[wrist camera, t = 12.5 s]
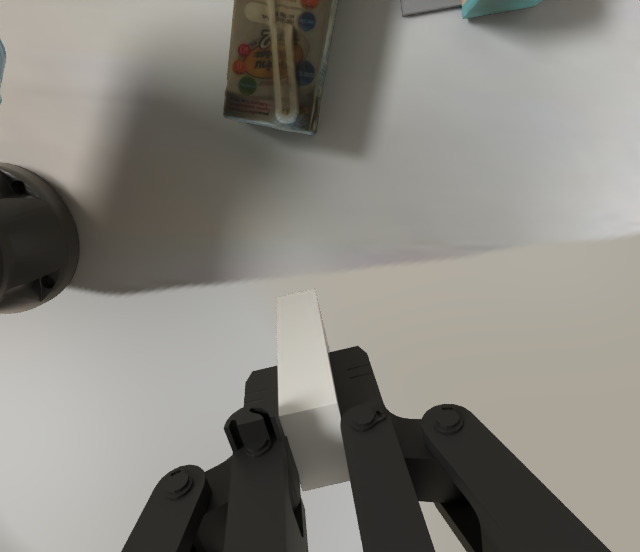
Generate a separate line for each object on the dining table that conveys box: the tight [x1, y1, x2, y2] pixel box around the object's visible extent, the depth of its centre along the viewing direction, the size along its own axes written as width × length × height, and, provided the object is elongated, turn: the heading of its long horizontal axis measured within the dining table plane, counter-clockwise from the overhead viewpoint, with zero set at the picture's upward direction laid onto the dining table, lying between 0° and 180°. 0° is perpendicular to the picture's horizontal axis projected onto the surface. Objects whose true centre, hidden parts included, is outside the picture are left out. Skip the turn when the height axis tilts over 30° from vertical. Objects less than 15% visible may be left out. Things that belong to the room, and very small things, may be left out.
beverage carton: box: [223, 0, 338, 135], centre depth 39 cm, size 8×19×7 cm, turn 170°
